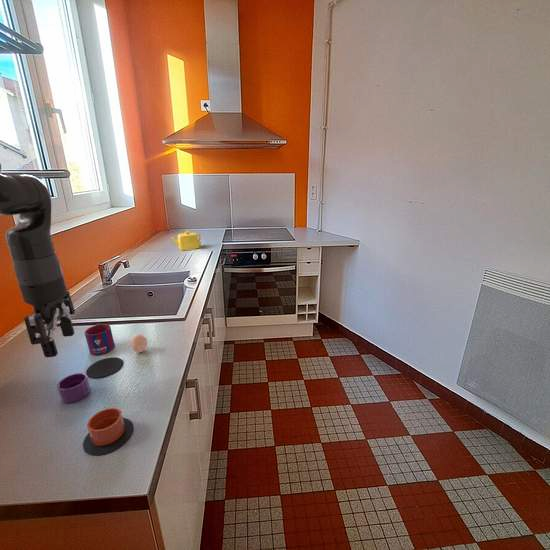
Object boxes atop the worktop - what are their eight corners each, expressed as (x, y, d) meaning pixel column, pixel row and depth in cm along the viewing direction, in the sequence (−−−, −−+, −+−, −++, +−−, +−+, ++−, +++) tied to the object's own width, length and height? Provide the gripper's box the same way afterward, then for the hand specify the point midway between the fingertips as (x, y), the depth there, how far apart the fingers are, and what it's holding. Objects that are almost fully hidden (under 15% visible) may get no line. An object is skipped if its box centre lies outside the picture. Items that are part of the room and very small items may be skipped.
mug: (87, 357, 87) (82, 337, 85) (93, 340, 96) (88, 321, 94) (113, 352, 90) (108, 332, 87) (117, 336, 98) (112, 317, 96)
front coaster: (75, 460, 56) (75, 459, 56) (92, 422, 64) (92, 421, 64) (127, 450, 58) (127, 449, 57) (137, 415, 66) (137, 414, 66)
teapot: (174, 252, 202) (171, 234, 198) (171, 248, 212) (169, 231, 209) (203, 248, 210) (201, 231, 206) (200, 244, 220) (198, 228, 216)
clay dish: (87, 450, 57) (82, 434, 56) (97, 425, 63) (93, 410, 62) (121, 444, 59) (116, 428, 57) (128, 420, 64) (124, 405, 63)
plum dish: (56, 405, 69) (52, 391, 68) (68, 388, 75) (63, 375, 73) (85, 401, 70) (81, 387, 69) (94, 384, 76) (90, 371, 75)
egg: (134, 357, 87) (130, 340, 85) (130, 350, 90) (127, 334, 88) (150, 352, 89) (147, 335, 87) (146, 345, 92) (143, 329, 91)
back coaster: (80, 380, 77) (80, 379, 77) (93, 360, 86) (92, 359, 86) (118, 375, 79) (118, 374, 79) (126, 356, 88) (126, 355, 87)
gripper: (38, 268, 68) (57, 331, 73) (-3, 291, 55) (23, 366, 60) (75, 265, 69) (90, 328, 75) (43, 287, 56) (65, 361, 61)
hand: (60, 345), depth 67 cm, fingers open, 8 cm apart
